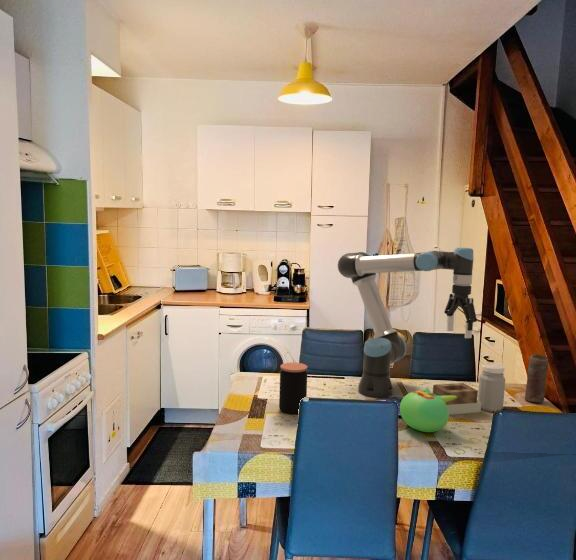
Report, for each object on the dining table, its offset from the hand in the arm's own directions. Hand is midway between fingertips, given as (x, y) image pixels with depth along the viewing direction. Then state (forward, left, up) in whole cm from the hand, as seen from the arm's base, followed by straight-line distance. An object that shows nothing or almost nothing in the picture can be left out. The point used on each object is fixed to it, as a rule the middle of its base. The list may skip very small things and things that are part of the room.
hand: (458, 334), depth 211 cm
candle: (+34, -8, -29) cm, 45 cm away
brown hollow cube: (-6, -10, -25) cm, 27 cm away
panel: (-6, -10, -29) cm, 31 cm away
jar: (+9, -12, -29) cm, 33 cm away
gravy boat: (-29, -26, -29) cm, 48 cm away
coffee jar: (-72, 0, -29) cm, 77 cm away
